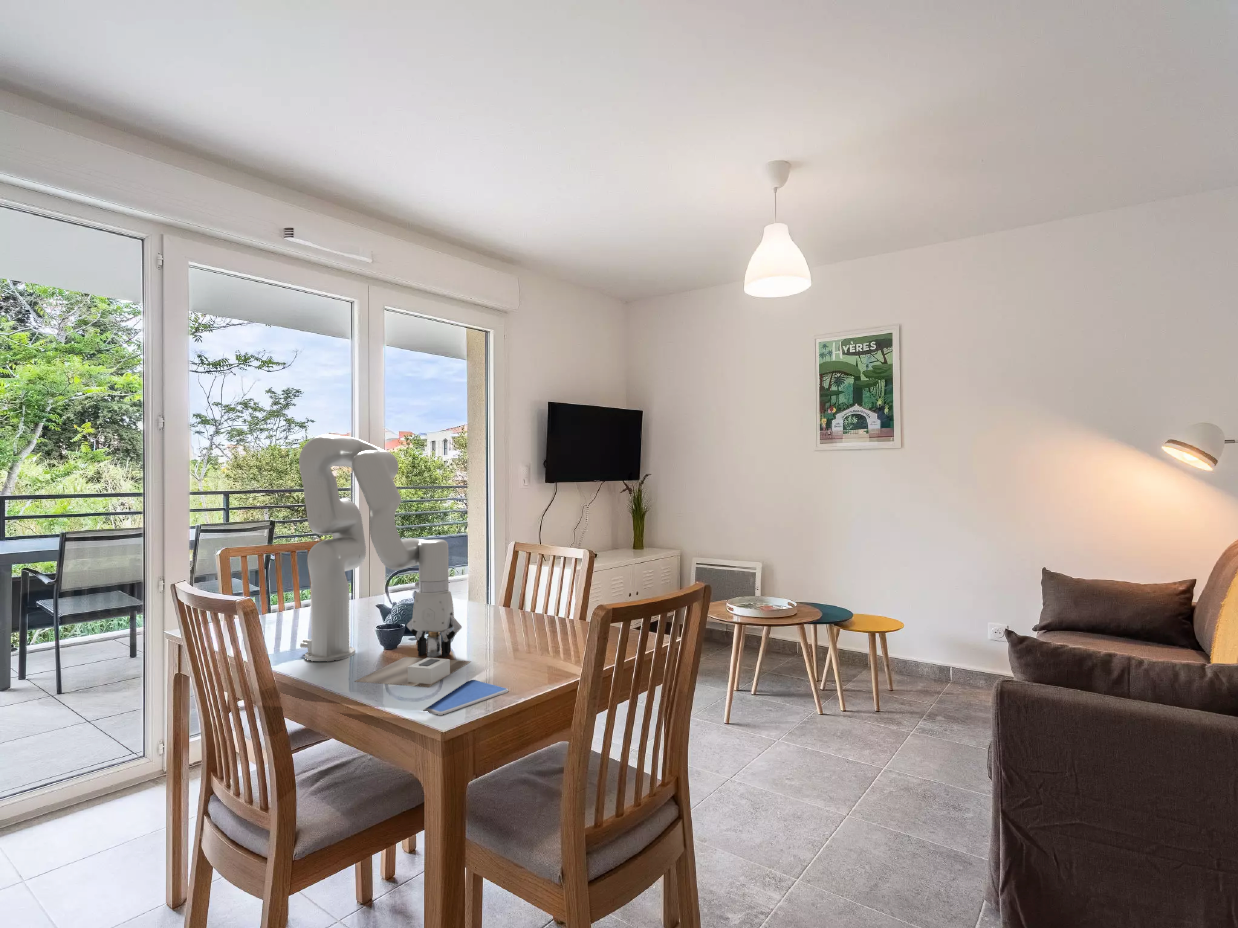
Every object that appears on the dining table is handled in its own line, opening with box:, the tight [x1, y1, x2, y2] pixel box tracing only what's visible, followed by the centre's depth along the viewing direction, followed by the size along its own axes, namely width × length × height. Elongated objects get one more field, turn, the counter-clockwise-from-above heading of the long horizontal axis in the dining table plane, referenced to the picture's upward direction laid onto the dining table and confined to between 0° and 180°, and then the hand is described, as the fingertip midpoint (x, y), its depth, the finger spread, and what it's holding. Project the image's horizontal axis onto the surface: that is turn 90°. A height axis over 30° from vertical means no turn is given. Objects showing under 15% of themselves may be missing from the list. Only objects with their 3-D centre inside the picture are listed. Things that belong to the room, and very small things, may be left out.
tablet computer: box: [423, 679, 509, 716], centre depth 145 cm, size 19×13×1 cm, turn 143°
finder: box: [408, 657, 451, 684], centre depth 155 cm, size 6×8×4 cm
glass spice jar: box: [426, 631, 442, 658], centre depth 175 cm, size 4×4×10 cm
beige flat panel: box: [354, 656, 472, 688], centre depth 160 cm, size 19×21×2 cm
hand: (434, 654), depth 175 cm, fingers open, 6 cm apart
